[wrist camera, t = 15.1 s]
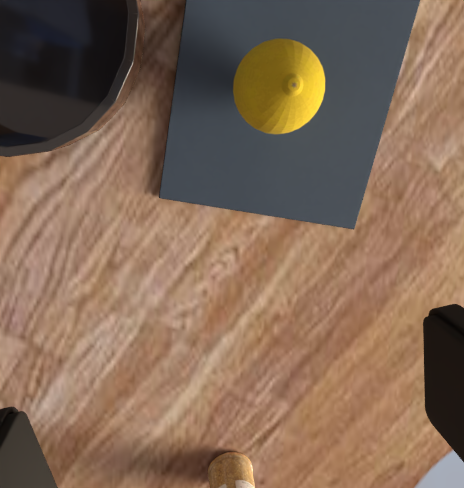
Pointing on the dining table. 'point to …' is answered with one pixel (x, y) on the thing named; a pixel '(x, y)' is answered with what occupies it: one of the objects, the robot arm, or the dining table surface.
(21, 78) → the pan
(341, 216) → the napkin
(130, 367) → the dining table surface
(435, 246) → the dining table surface
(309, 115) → the lemon
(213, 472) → the sprinkles bottle
